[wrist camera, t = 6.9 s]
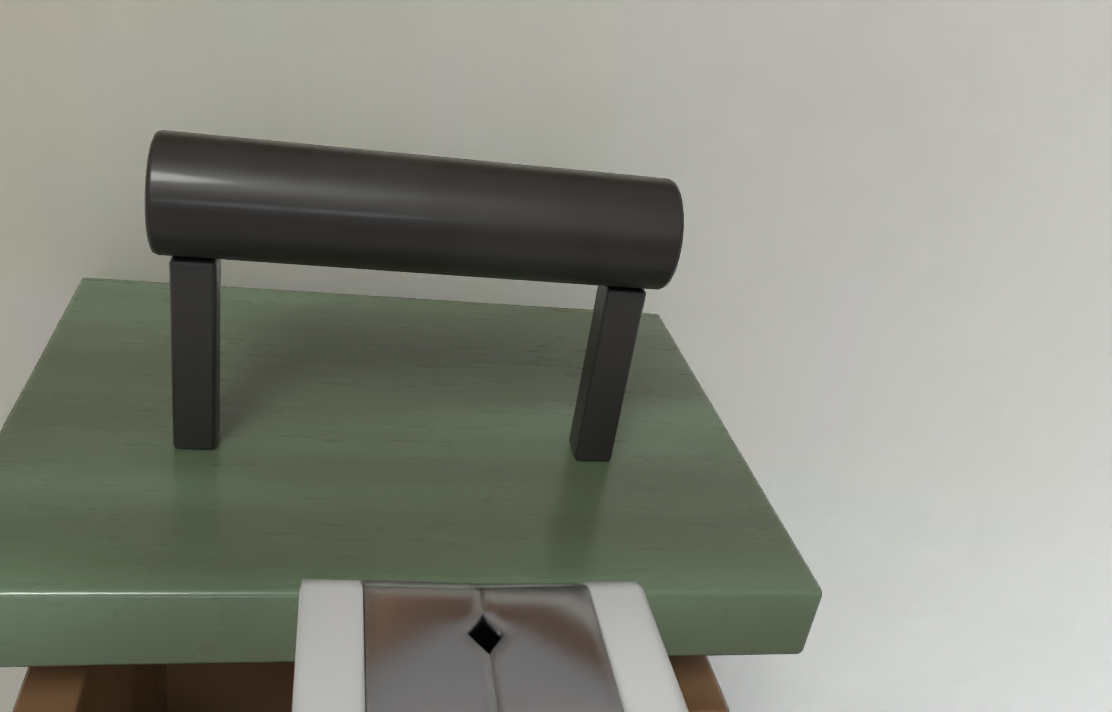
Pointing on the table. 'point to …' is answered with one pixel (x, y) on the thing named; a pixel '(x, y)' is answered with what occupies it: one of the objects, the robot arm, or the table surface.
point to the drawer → (368, 430)
